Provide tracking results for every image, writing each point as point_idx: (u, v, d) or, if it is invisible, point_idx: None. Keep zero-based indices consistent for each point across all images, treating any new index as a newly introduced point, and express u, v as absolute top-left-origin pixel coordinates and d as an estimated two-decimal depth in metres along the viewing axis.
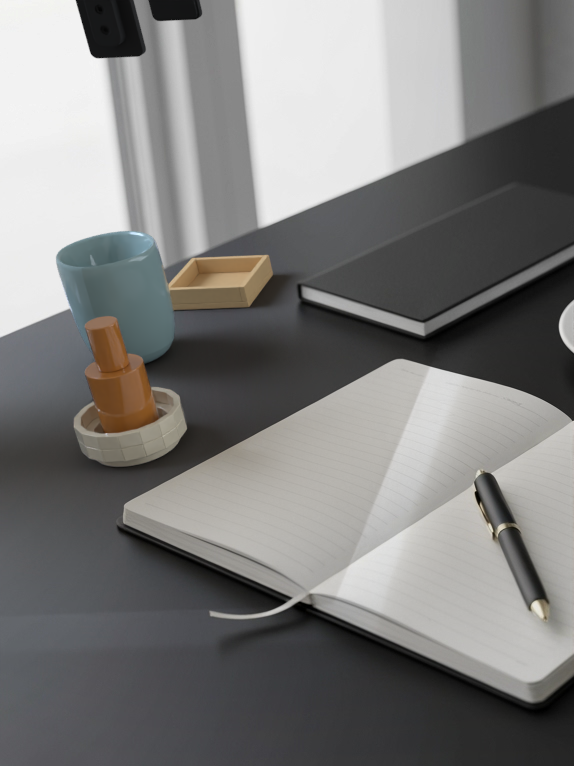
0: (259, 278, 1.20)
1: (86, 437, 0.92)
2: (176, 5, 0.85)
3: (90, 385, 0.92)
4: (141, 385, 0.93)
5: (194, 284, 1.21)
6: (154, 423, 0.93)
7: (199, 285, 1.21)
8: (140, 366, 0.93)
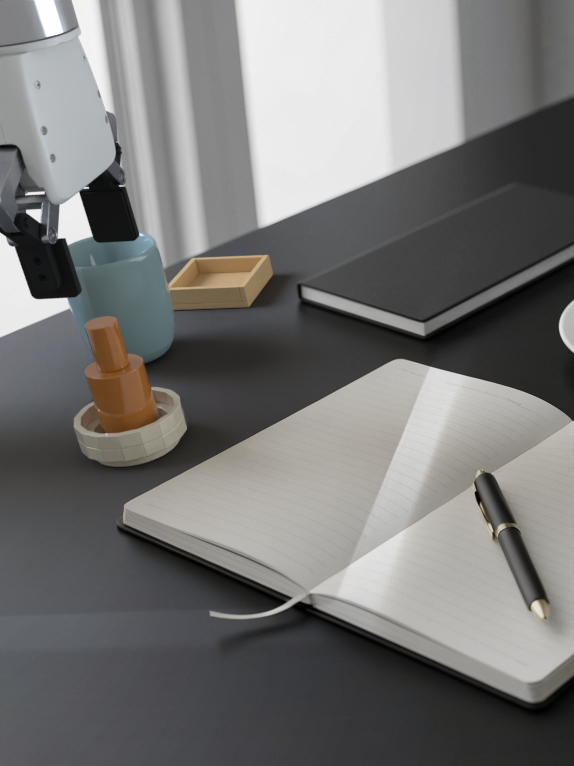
0: (259, 278, 1.20)
1: (86, 437, 0.92)
2: (115, 229, 0.92)
3: (90, 385, 0.92)
4: (141, 385, 0.93)
5: (194, 284, 1.21)
6: (154, 423, 0.93)
7: (199, 285, 1.21)
8: (140, 366, 0.93)
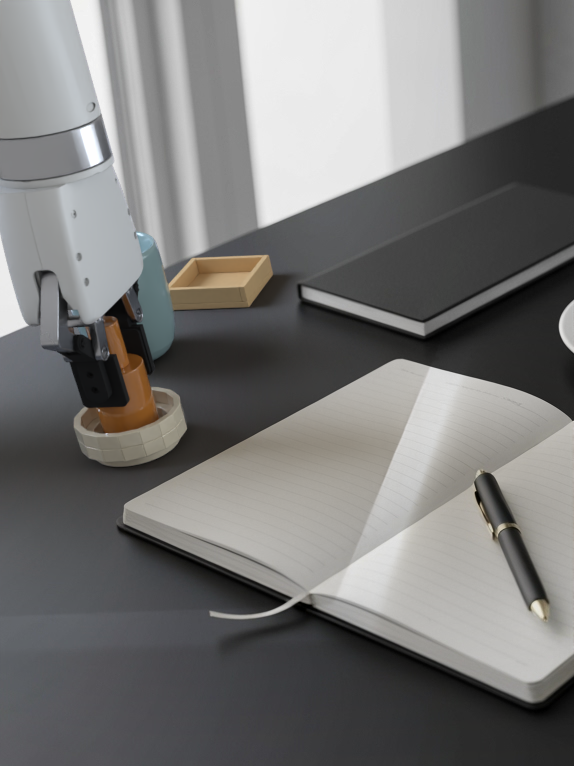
0: (259, 278, 1.20)
1: (86, 437, 0.92)
2: None
3: None
4: (141, 385, 0.93)
5: (194, 284, 1.21)
6: (154, 423, 0.93)
7: (199, 285, 1.21)
8: (140, 366, 0.93)
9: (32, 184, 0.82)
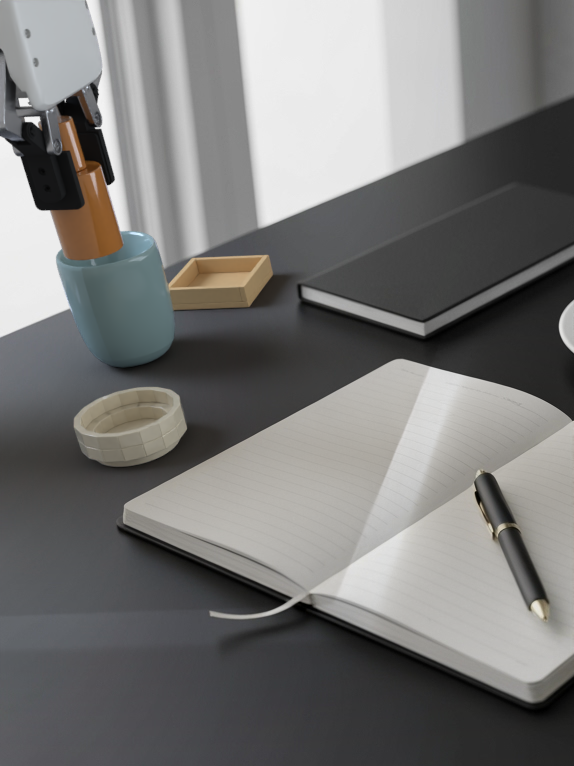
0: (259, 278, 1.20)
1: (86, 437, 0.92)
2: None
3: None
4: (98, 190, 0.88)
5: (194, 284, 1.21)
6: (154, 423, 0.93)
7: (199, 285, 1.21)
8: (97, 170, 0.88)
9: None
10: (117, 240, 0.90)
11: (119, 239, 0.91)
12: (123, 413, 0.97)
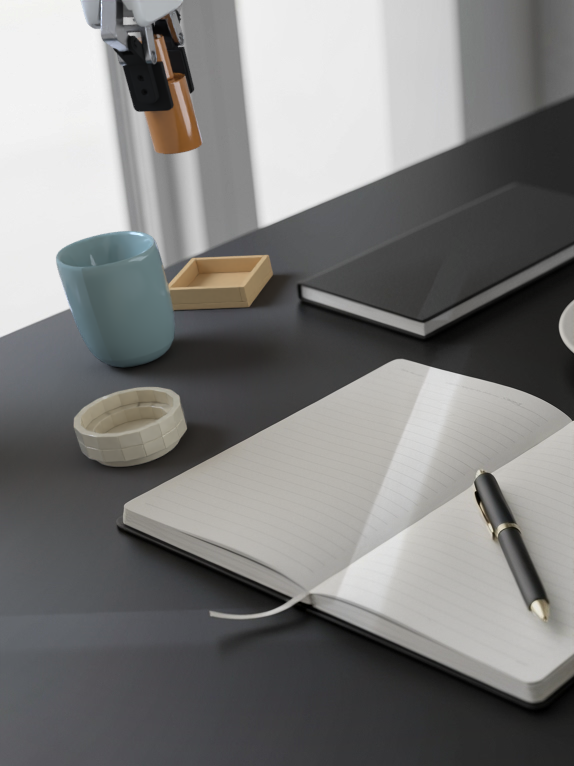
0: (259, 278, 1.20)
1: (86, 437, 0.92)
2: None
3: None
4: (184, 96, 1.08)
5: (194, 284, 1.21)
6: (154, 423, 0.93)
7: (199, 285, 1.21)
8: (183, 79, 1.08)
9: None
10: (198, 138, 1.10)
11: (199, 138, 1.11)
12: (123, 413, 0.97)
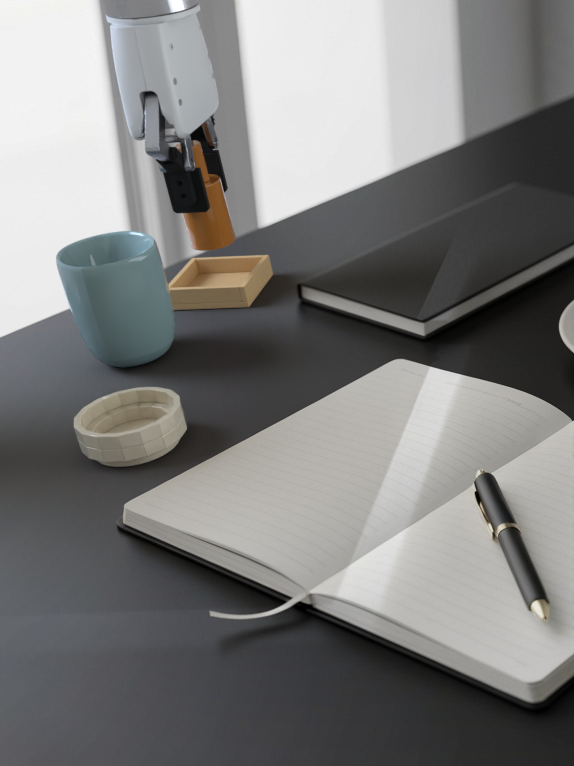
0: (259, 278, 1.20)
1: (86, 437, 0.92)
2: None
3: None
4: (219, 197, 1.15)
5: (194, 284, 1.21)
6: (154, 423, 0.93)
7: (199, 285, 1.21)
8: (218, 181, 1.15)
9: (139, 21, 1.05)
10: (232, 235, 1.18)
11: (233, 234, 1.18)
12: (123, 413, 0.97)
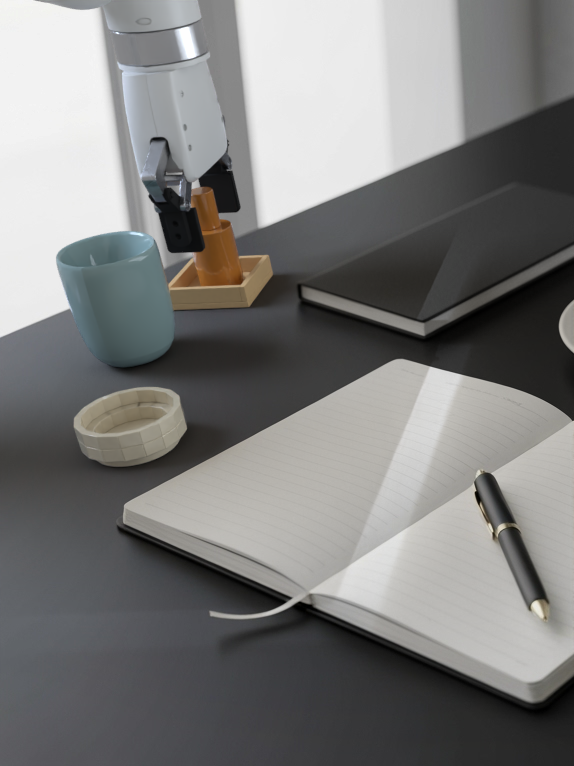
0: (259, 278, 1.20)
1: (86, 437, 0.92)
2: (223, 203, 1.21)
3: None
4: (230, 242, 1.18)
5: (194, 284, 1.21)
6: (154, 423, 0.93)
7: (199, 285, 1.21)
8: (229, 227, 1.17)
9: (151, 69, 1.07)
10: (241, 279, 1.20)
11: (243, 278, 1.20)
12: (123, 413, 0.97)
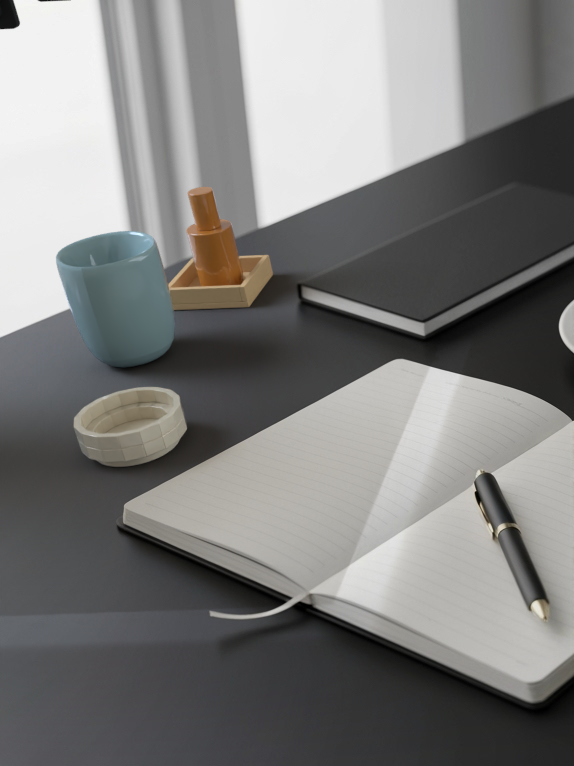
0: (259, 278, 1.20)
1: (86, 437, 0.92)
2: None
3: (191, 241, 1.16)
4: (230, 242, 1.18)
5: (194, 284, 1.21)
6: (154, 423, 0.93)
7: (199, 285, 1.21)
8: (229, 227, 1.17)
9: None
10: (241, 279, 1.20)
11: (243, 278, 1.20)
12: (123, 413, 0.97)
